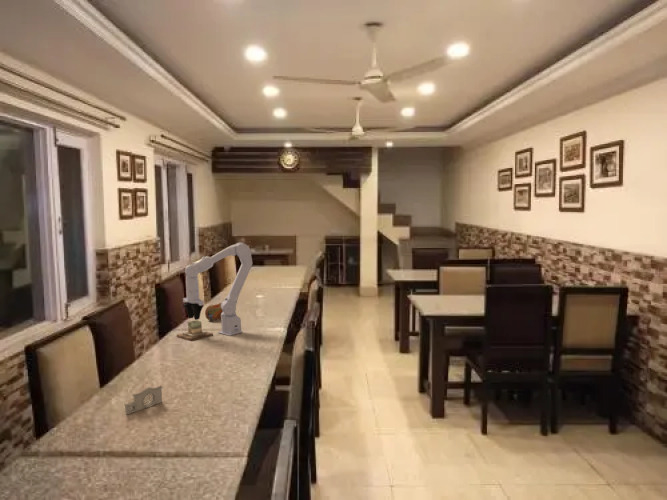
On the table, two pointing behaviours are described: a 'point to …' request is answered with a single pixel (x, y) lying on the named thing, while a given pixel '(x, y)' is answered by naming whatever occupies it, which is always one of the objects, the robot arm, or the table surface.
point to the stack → (194, 327)
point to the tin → (213, 312)
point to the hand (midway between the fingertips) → (194, 318)
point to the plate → (195, 336)
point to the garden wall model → (140, 397)
